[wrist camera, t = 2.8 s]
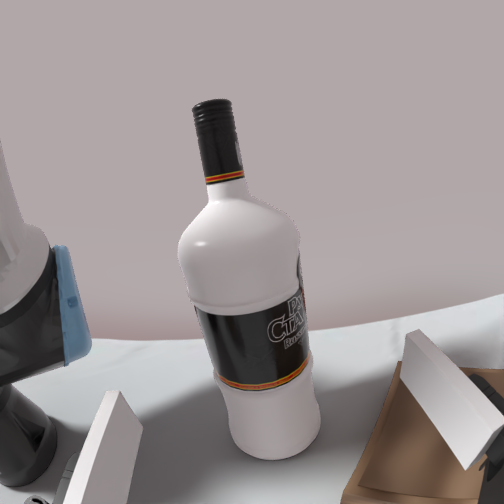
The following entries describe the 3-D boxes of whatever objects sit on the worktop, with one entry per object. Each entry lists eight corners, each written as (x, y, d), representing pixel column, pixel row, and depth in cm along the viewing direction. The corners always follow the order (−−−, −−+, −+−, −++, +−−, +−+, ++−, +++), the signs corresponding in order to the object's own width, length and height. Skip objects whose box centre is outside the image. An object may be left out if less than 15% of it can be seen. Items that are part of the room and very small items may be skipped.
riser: (339, 506, 15) (343, 490, 14) (393, 385, 27) (398, 359, 26) (502, 520, 6) (527, 502, 4) (512, 394, 18) (525, 367, 16)
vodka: (244, 397, 31) (180, 123, 22) (323, 397, 29) (289, 99, 19) (222, 458, 22) (110, 116, 13) (317, 465, 20) (269, 64, 11)
